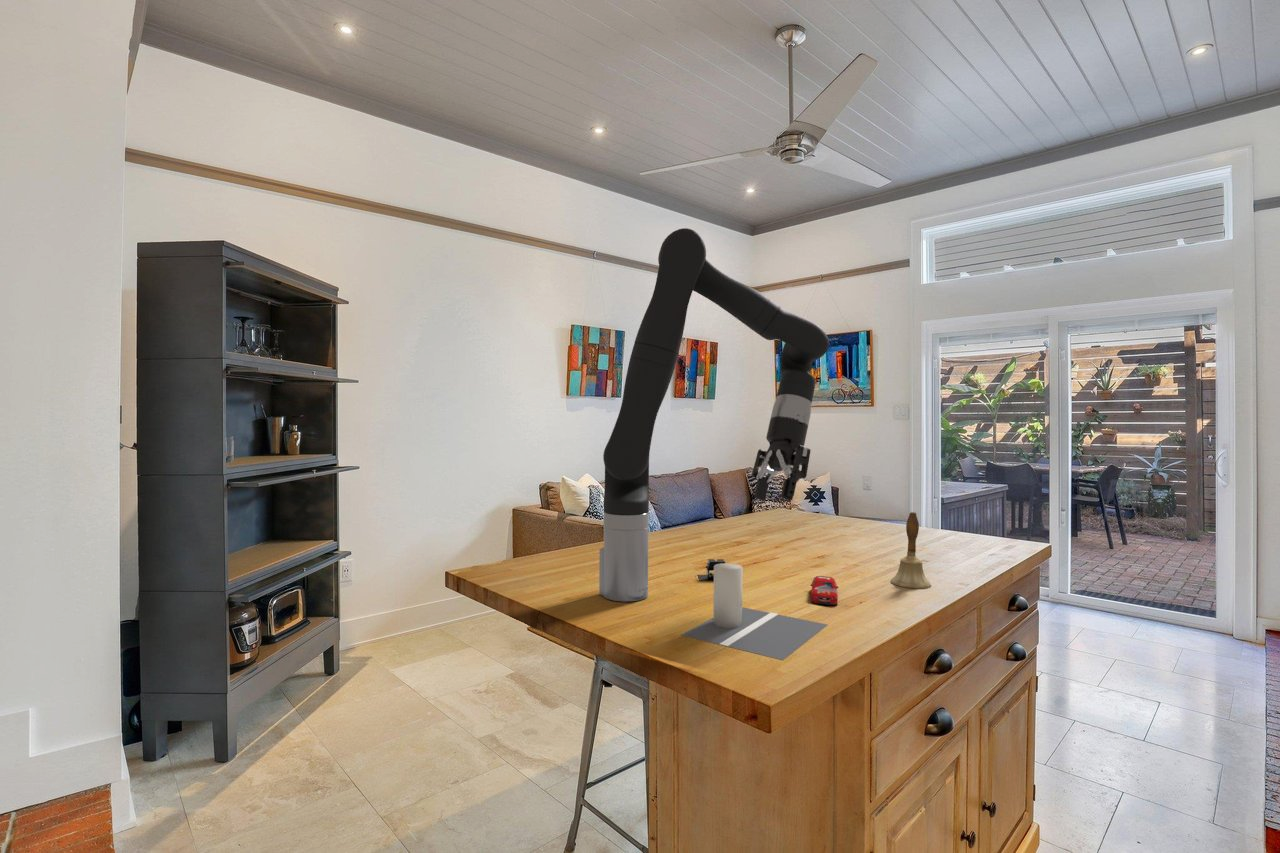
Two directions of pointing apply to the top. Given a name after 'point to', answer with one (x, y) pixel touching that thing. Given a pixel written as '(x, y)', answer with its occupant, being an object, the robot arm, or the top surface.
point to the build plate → (710, 568)
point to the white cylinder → (727, 595)
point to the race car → (824, 590)
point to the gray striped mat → (760, 633)
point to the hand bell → (911, 560)
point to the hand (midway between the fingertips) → (772, 499)
